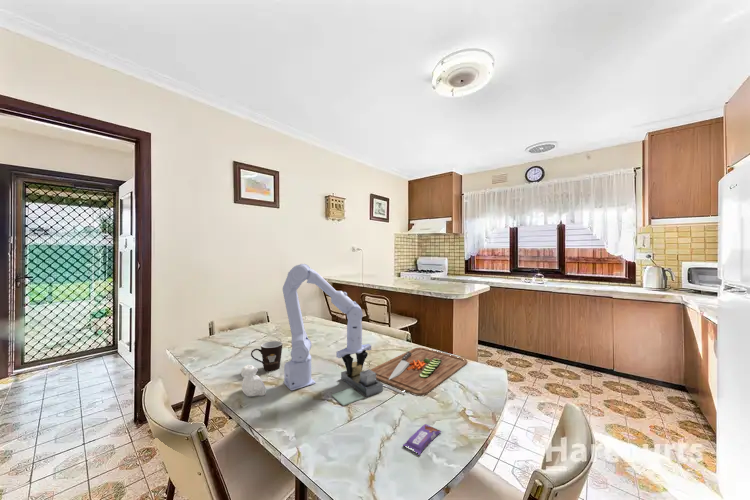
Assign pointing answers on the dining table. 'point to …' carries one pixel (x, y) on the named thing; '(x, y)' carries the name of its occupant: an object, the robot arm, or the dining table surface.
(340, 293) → the robot arm
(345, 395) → the mat
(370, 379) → the gray metal block
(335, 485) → the dining table surface
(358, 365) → the tan wooden block
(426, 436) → the snack package
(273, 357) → the coffee mug
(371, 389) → the gray slotted board
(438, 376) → the chopping board
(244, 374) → the bust
